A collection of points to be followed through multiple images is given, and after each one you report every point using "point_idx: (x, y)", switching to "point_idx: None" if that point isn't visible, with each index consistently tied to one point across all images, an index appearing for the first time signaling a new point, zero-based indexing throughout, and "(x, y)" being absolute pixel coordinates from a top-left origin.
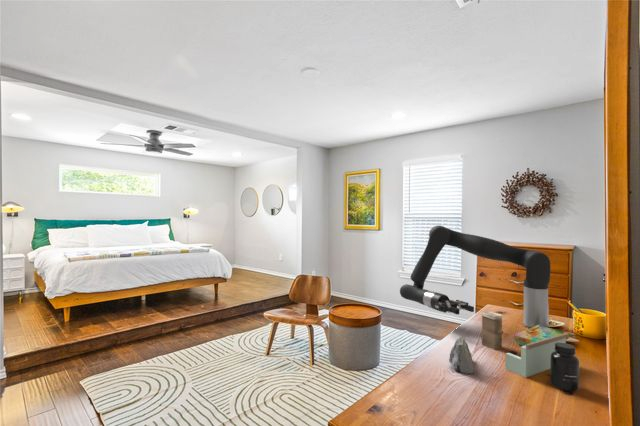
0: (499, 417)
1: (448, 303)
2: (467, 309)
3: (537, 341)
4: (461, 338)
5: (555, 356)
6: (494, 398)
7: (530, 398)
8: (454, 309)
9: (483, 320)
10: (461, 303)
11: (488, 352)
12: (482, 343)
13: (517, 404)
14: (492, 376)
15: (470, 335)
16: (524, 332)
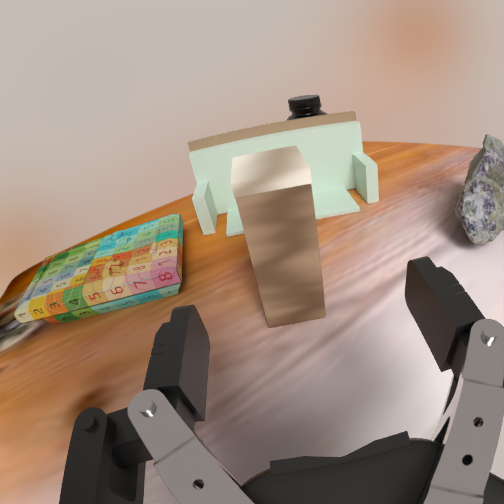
0: (464, 148)
1: (479, 400)
2: (202, 385)
3: (313, 117)
4: (491, 140)
5: (326, 114)
6: (456, 161)
7: (401, 158)
8: (451, 282)
9: (312, 204)
10: (181, 438)
11: (355, 264)
12: (324, 309)
13: (429, 154)
14: (429, 188)
15: (280, 427)
16: (125, 272)
